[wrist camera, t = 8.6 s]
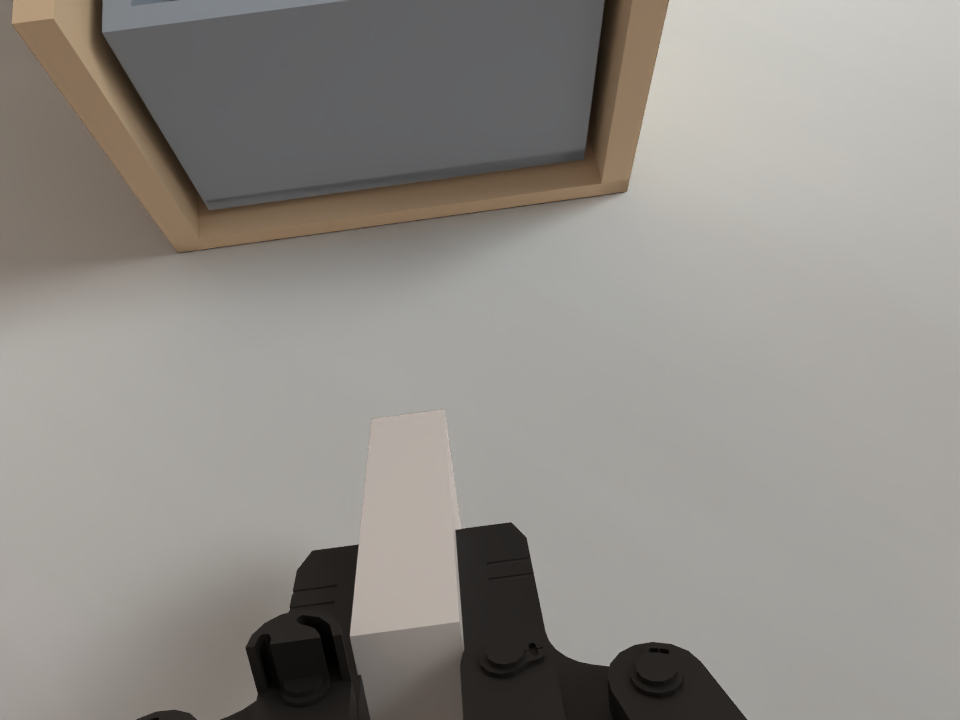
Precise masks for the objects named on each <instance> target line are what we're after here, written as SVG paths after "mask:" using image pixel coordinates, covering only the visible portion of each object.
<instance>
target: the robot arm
mask: <svg viewBox="0 0 960 720" xmlns="http://www.w3.org/2000/svg"><path fill="white" fill-rule="evenodd" d="M246 652H247V655H248V659H249V663H250V666H251V670H252V674H253V677H254V681H255V685H256V688H257V692H258V696H257V701H255V702H254V703H252V704H251V705H249V706H248V707H246V708H245V709H244V710H241V711H239V712H237V713H235V714H233V715H231V716H229V717H226V718H223V719H221V720H747V719H746V718H745V716H744V715H743V714H742V713H741V711H740V710H739V709H738V708H737V706H736V705H735V704H734V703H733V701H732V700H731V699H730V698H729V696H728V695H727V694H726V693H725V691H724V690H723V689H722V688H721V686H720V685H719V684H718V683H717V681H716V680H715V679H714V678H713V676H712V675H711V674H710V673H709V671H708V670H707V669H706V668H705V666H704V665H703V664H702V663H701V661H699V660H698V659H697V658H696V657H695V656H693V655H692V654H691V653H690V652H689V651H687V650H685V649H682V648H680V647H677V646H675V645H672V644H665V643H656V642H650V643H644V644H638V645H634V646H632V647H630V648H628V649H626V650H624V651H622V652H620V653H619V654H618V655H617V656H616V658H615V659H614V660H613V661H612V662H611V663H610V667H608V666H599V665H591V664H587V663H582V662H578V661H575V660H573V659H570V658H568V657H566V656H564V655H563V654H561V653H560V652H559V651H557V650H556V649H555V648H554V647H553V645H552V644H551V643H550V642H549V640H548V637H547V635H546V632H545V628H544V623H543V618H542V613H541V608H540V603H539V598H538V593H537V588H536V583H535V578H534V573H533V568H532V563H531V559H530V553H529V548H528V543H527V538H526V537H525V536H524V535H523V534H522V533H521V532H520V531H519V530H518V529H517V528H516V527H515V526H514V525H513V524H512V523H511V522H510V523H503V524H495V525H488V526H480V527H473V528H465V529H461V523H460V515H459V508H458V501H457V494H456V487H455V480H454V473H453V466H452V459H451V452H450V445H449V437H448V430H447V423H446V416H445V409H442V410H434V411H426V412H419V413H411V414H403V415H395V416H388V417H380V418H372V419H371V427H370V437H369V447H368V457H367V467H366V477H365V488H364V498H363V508H362V518H361V528H360V538H359V545H352V546H344V547H337V548H329V549H322V550H314V551H312V552H311V553H310V554H309V556H308V557H307V558H306V560H305V561H304V562H303V563H302V565H301V566H300V567H299V568H298V570H297V573H296V578H295V583H294V588H293V594H292V598H291V603H290V611H289V613H286V614H282V615H280V616H278V617H276V618H274V619H272V620H270V621H268V622H266V623H264V624H263V625H262V626H261V627H260V628H259V629H258V630H257V631H256V632H255V633H254V634H252V636H251V638H250V640H249V642H248V644H247V646H246ZM137 720H197V719H195V718H194V717H193V716H192V715H191V714H190V713H186V712H182V711H178V710H168V711H159V712H155V713H152V714H149V715H147V716H144V717H141V718H139V719H137Z"/></svg>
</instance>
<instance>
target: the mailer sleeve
mask: <svg viewBox="0 0 960 720" xmlns="http://www.w3.org/2000/svg"><path fill="white" fill-rule="evenodd" d="M668 3H669V0H605V2H604V10H603V18H602V25H601V33H600V40H599V48H598V56H597V63H596V71H595V79H594V86H593V94H592V102H591V109H590V117H589V125H588V132H587V140H586V148H585V155H584V160H576V161H569V162H562V163H554V164H547V165H540V166H532V167H525V168H518V169H510V170H503V171H495V172H488V173H481V174H473V175H466V176H459V177H451V178H444V179H436V180H429V181H422V182H414V183H407V184H400V185H392V186H385V187H378V188H370V189H363V190H355V191H348V192H341V193H333V194H326V195H319V196H311V197H304V198H296V199H289V200H282V201H274V202H267V203H260V204H252V205H245V206H238V207H230V208H223V209H215V210H208V208H207V206H206V205H205V203H204V201H203V200H202V198H201V196H200V195H199V193H198V191H197V190H196V188H195V186H194V185H193V183H192V181H191V180H190V178H189V176H188V175H187V173H186V171H185V170H184V168H183V166H182V165H181V163H180V161H179V160H178V158H177V156H176V155H175V153H174V151H173V150H172V148H171V146H170V145H169V143H168V141H167V140H166V138H165V136H164V135H163V133H162V131H161V130H160V128H159V127H158V125H157V123H156V122H155V120H154V118H153V117H152V115H151V113H150V112H149V110H148V108H147V107H146V105H145V103H144V102H143V100H142V98H141V97H140V95H139V93H138V92H137V90H136V88H135V87H134V85H133V83H132V82H131V80H130V78H129V77H128V75H127V73H126V72H125V70H124V68H123V67H122V65H121V63H120V62H119V60H118V58H117V57H116V55H115V53H114V52H113V50H112V48H111V47H110V45H109V44H108V42H107V40H106V39H105V37H104V35H103V34H102V12H103V0H13V11H12V25H13V27H14V28H15V29H16V31H17V32H18V33H19V35H20V36H21V38H22V39H23V40H24V42H25V43H26V45H27V46H28V47H29V49H30V50H31V51H32V53H33V54H34V56H35V57H36V58H37V60H38V61H39V62H40V64H41V65H42V67H43V68H44V69H45V71H46V72H47V73H48V75H49V76H50V78H51V79H52V80H53V82H54V83H55V84H56V86H57V87H58V89H59V90H60V91H61V93H62V94H63V95H64V97H65V98H66V100H67V101H68V102H69V104H70V105H71V106H72V108H73V109H74V111H75V112H76V113H77V115H78V116H79V118H80V119H81V120H82V122H83V123H84V124H85V126H86V127H87V129H88V130H89V131H90V133H91V134H92V135H93V137H94V138H95V140H96V141H97V142H98V144H99V145H100V146H101V148H102V149H103V151H104V152H105V153H106V155H107V156H108V157H109V159H110V160H111V162H112V163H113V164H114V166H115V167H116V168H117V170H118V171H119V173H120V174H121V175H122V177H123V178H124V180H125V181H126V182H127V184H128V185H129V186H130V188H131V189H132V191H133V192H134V193H135V195H136V196H137V197H138V199H139V200H140V202H141V203H142V204H143V206H144V207H145V208H146V210H147V211H148V213H149V214H150V215H151V217H152V218H153V219H154V221H155V222H156V224H157V225H158V226H159V228H160V229H161V230H162V232H163V233H164V235H165V236H166V237H167V239H168V240H169V241H170V243H171V244H172V246H173V247H174V248H175V250H176V251H177V253H179V252H187V251H194V250H201V249H209V248H216V247H223V246H231V245H238V244H245V243H253V242H260V241H267V240H275V239H282V238H289V237H296V236H304V235H311V234H318V233H326V232H333V231H340V230H348V229H355V228H362V227H370V226H377V225H384V224H392V223H399V222H406V221H414V220H421V219H428V218H436V217H443V216H450V215H458V214H465V213H472V212H480V211H487V210H494V209H502V208H509V207H516V206H523V205H531V204H538V203H545V202H553V201H560V200H567V199H575V198H582V197H589V196H597V195H604V194H611V193H619V192H626V191H627V188H628V184H629V179H630V175H631V170H632V166H633V161H634V157H635V152H636V148H637V143H638V139H639V134H640V130H641V125H642V121H643V116H644V111H645V107H646V102H647V98H648V93H649V89H650V84H651V80H652V75H653V71H654V66H655V62H656V57H657V53H658V48H659V44H660V39H661V35H662V30H663V26H664V21H665V17H666V12H667V7H668Z"/></svg>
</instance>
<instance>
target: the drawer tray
mask: <svg viewBox="0 0 960 720" xmlns="http://www.w3.org/2000/svg"><path fill="white" fill-rule="evenodd" d="M604 2H605V0H103V12H102V34H103V35H104V37H105V39H106V40H107V42H108V44H109V45H110V47H111V48H112V50H113V52H114V53H115V55H116V57H117V58H118V60H119V62H120V63H121V65H122V67H123V68H124V70H125V72H126V73H127V75H128V77H129V78H130V80H131V82H132V83H133V85H134V87H135V88H136V90H137V92H138V93H139V95H140V97H141V98H142V100H143V102H144V103H145V105H146V107H147V108H148V110H149V112H150V113H151V115H152V117H153V118H154V120H155V122H156V123H157V125H158V127H159V128H160V130H161V131H162V133H163V135H164V136H165V138H166V140H167V141H168V143H169V145H170V146H171V148H172V150H173V151H174V153H175V155H176V156H177V158H178V160H179V161H180V163H181V165H182V166H183V168H184V170H185V171H186V173H187V175H188V176H189V178H190V180H191V181H192V183H193V185H194V186H195V188H196V190H197V191H198V193H199V195H200V196H201V198H202V200H203V201H204V203H205V205H206V206H207V208H208V210H215V209H223V208H230V207H238V206H245V205H252V204H260V203H267V202H274V201H282V200H289V199H296V198H304V197H311V196H319V195H326V194H333V193H341V192H348V191H355V190H363V189H370V188H378V187H385V186H392V185H400V184H407V183H414V182H422V181H429V180H436V179H444V178H451V177H459V176H466V175H473V174H481V173H488V172H495V171H503V170H510V169H518V168H525V167H532V166H540V165H547V164H554V163H562V162H569V161H576V160H584V155H585V148H586V140H587V132H588V125H589V117H590V109H591V102H592V94H593V86H594V79H595V71H596V63H597V56H598V48H599V40H600V33H601V25H602V18H603V10H604Z"/></svg>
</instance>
